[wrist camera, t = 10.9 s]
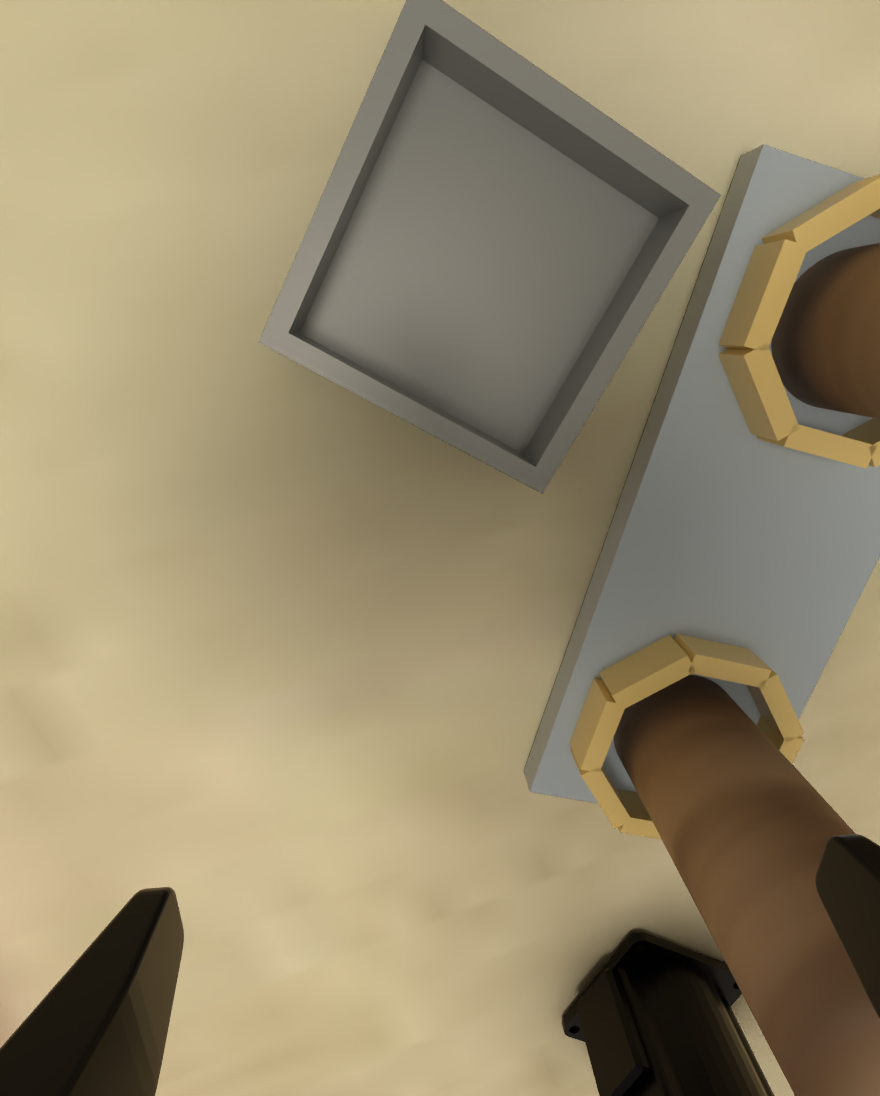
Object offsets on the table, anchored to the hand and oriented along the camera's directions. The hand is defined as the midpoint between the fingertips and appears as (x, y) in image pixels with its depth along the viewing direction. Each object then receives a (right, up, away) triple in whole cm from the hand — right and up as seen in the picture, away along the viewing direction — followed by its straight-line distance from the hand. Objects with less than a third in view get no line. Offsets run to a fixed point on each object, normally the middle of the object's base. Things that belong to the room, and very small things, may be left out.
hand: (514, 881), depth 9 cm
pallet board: (+9, +5, +14) cm, 17 cm away
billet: (+8, -2, +15) cm, 17 cm away
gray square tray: (0, +13, +10) cm, 16 cm away
